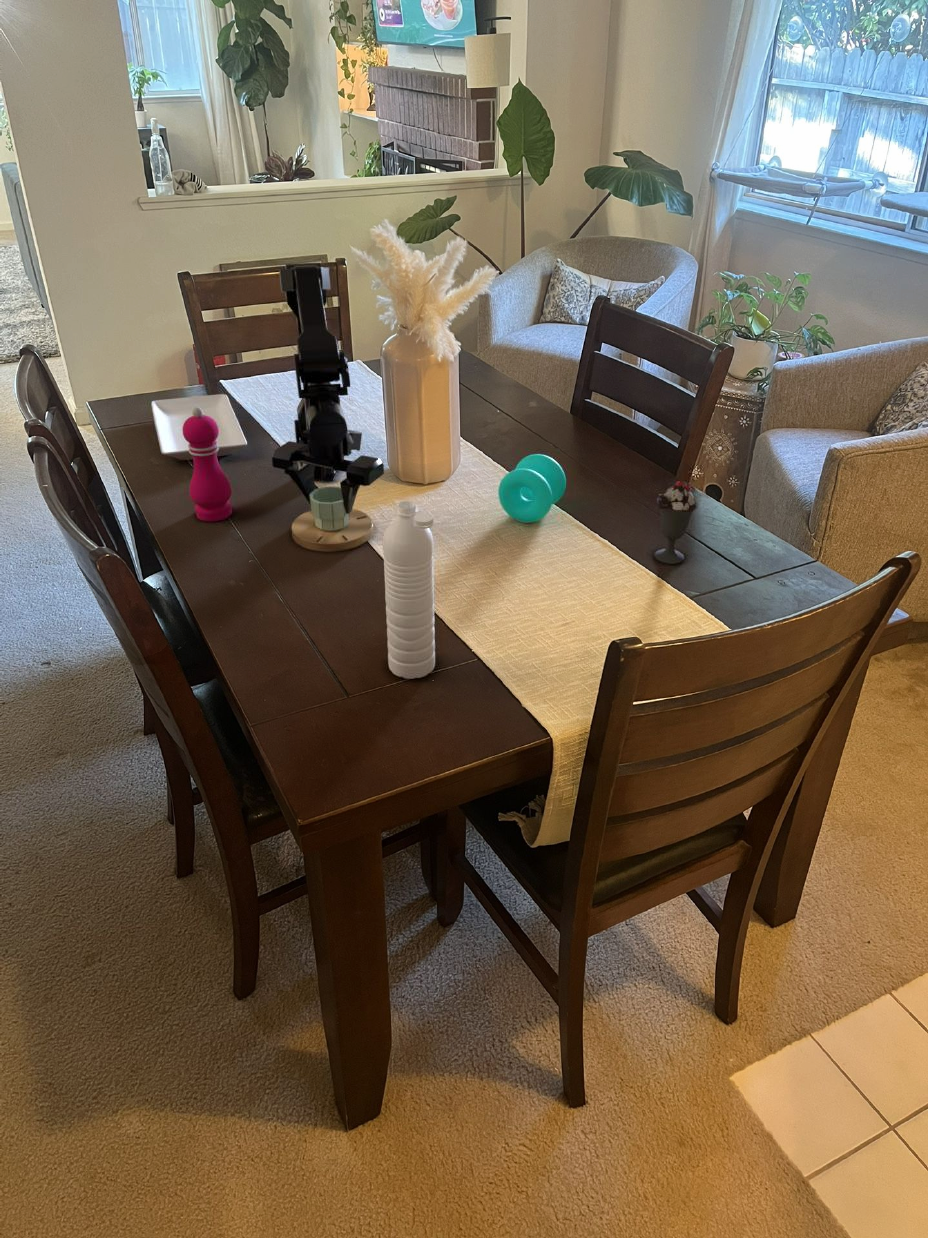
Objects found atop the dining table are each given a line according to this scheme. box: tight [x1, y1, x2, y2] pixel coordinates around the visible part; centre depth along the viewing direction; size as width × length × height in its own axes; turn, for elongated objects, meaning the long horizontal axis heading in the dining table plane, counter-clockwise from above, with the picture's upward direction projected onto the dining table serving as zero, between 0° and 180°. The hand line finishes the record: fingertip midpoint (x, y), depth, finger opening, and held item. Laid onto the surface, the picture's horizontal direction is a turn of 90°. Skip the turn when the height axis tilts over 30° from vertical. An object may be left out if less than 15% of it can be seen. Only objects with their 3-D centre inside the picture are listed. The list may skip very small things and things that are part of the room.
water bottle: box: [382, 500, 436, 680], centre depth 120 cm, size 9×6×25 cm
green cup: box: [309, 485, 350, 531], centre depth 158 cm, size 7×7×6 cm
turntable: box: [291, 508, 374, 553], centre depth 160 cm, size 14×14×2 cm
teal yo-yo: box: [497, 453, 567, 524], centre depth 164 cm, size 10×10×10 cm
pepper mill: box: [183, 407, 233, 523], centre depth 160 cm, size 7×7×20 cm
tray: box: [150, 393, 248, 461], centre depth 195 cm, size 17×31×4 cm, turn 20°
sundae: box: [653, 471, 699, 565], centre depth 150 cm, size 7×7×15 cm
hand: (331, 508), depth 158 cm, fingers closed on green cup, 7 cm apart
